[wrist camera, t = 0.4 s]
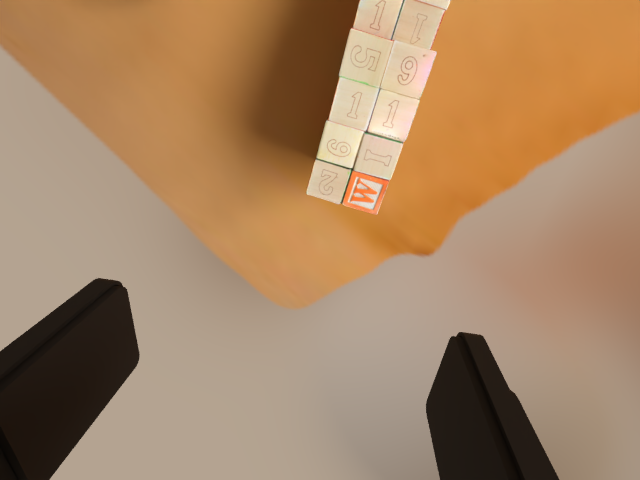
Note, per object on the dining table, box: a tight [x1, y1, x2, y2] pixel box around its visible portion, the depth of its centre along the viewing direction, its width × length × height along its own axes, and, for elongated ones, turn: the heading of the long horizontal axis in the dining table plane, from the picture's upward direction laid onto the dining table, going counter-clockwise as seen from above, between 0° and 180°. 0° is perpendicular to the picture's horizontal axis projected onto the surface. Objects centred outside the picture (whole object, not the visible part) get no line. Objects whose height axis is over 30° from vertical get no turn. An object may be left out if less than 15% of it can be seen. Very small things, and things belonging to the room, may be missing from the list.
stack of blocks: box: [306, 0, 451, 214], centre depth 28 cm, size 21×6×12 cm, turn 164°
